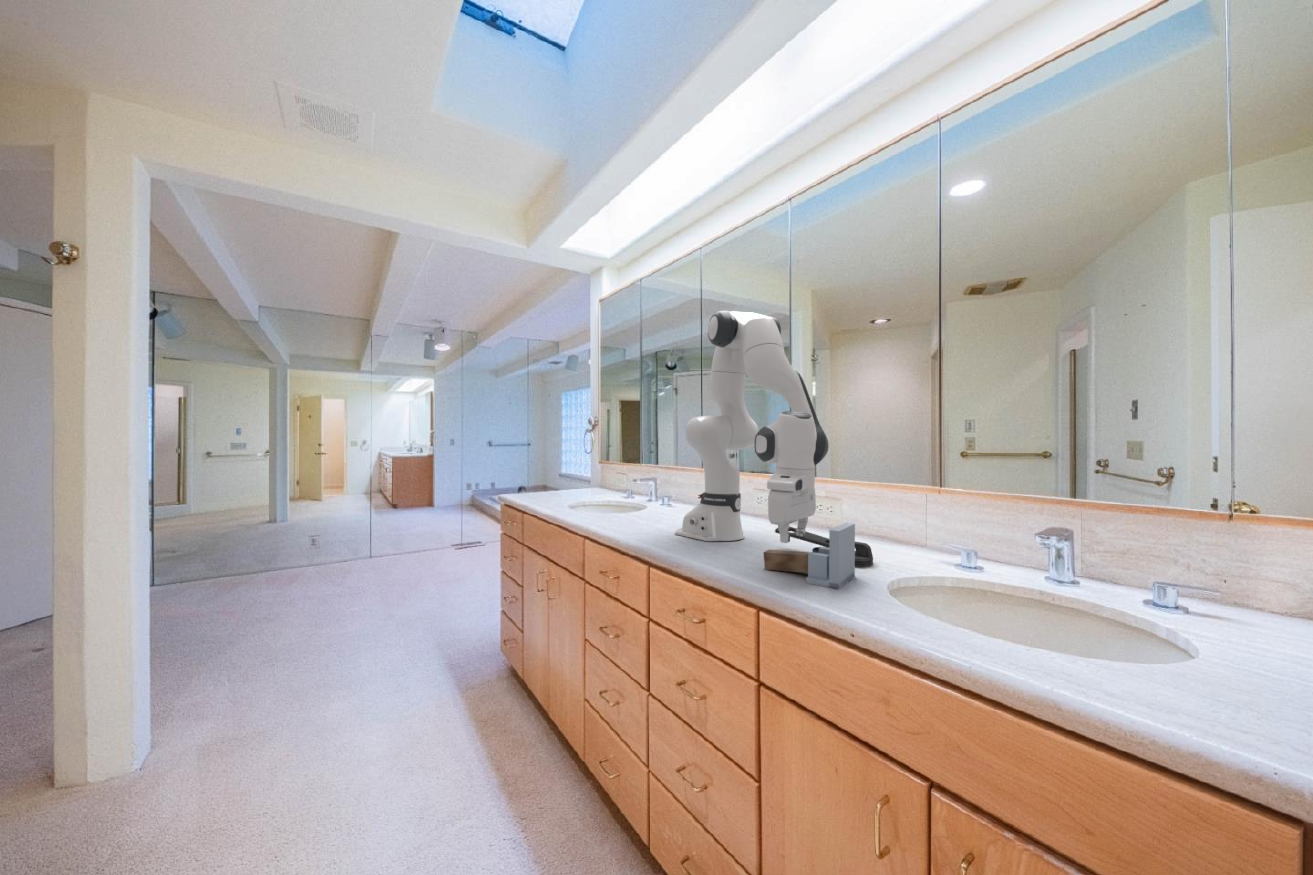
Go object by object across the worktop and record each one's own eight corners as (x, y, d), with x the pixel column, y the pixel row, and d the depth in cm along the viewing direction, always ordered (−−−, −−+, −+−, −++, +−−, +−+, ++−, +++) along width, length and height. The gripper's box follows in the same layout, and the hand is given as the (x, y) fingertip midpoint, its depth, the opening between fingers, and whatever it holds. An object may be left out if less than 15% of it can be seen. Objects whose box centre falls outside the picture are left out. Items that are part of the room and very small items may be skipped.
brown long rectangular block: (764, 569, 110) (763, 552, 110) (770, 566, 112) (769, 549, 113) (823, 574, 101) (822, 556, 101) (828, 571, 104) (827, 553, 104)
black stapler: (786, 524, 134) (877, 537, 117) (786, 547, 134) (877, 562, 117) (771, 528, 127) (866, 542, 111) (771, 552, 127) (865, 569, 111)
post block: (805, 582, 99) (805, 527, 99) (823, 570, 109) (823, 520, 109) (838, 589, 95) (839, 531, 95) (854, 576, 104) (854, 523, 105)
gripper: (798, 476, 117) (796, 529, 118) (763, 482, 101) (761, 544, 102) (823, 478, 114) (821, 533, 114) (791, 484, 97) (789, 549, 98)
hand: (793, 538), depth 108 cm, fingers open, 8 cm apart
